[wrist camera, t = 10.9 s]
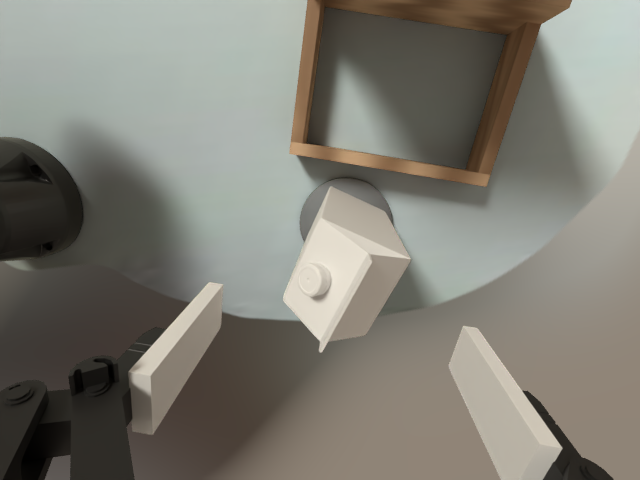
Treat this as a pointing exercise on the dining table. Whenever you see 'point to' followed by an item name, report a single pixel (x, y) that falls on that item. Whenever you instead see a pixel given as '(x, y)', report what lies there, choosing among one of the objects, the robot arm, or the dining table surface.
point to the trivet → (346, 185)
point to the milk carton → (345, 268)
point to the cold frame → (450, 10)
